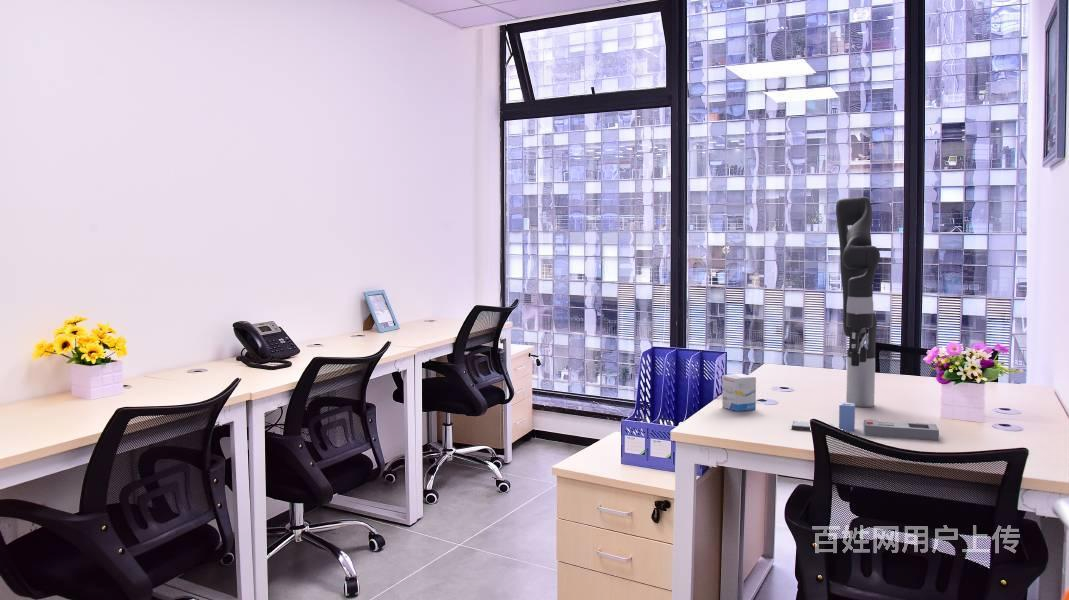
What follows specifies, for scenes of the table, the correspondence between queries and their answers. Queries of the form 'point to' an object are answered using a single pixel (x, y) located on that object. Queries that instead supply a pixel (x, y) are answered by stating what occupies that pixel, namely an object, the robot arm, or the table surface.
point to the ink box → (739, 392)
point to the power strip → (901, 429)
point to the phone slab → (802, 425)
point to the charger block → (847, 416)
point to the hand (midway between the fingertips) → (858, 363)
